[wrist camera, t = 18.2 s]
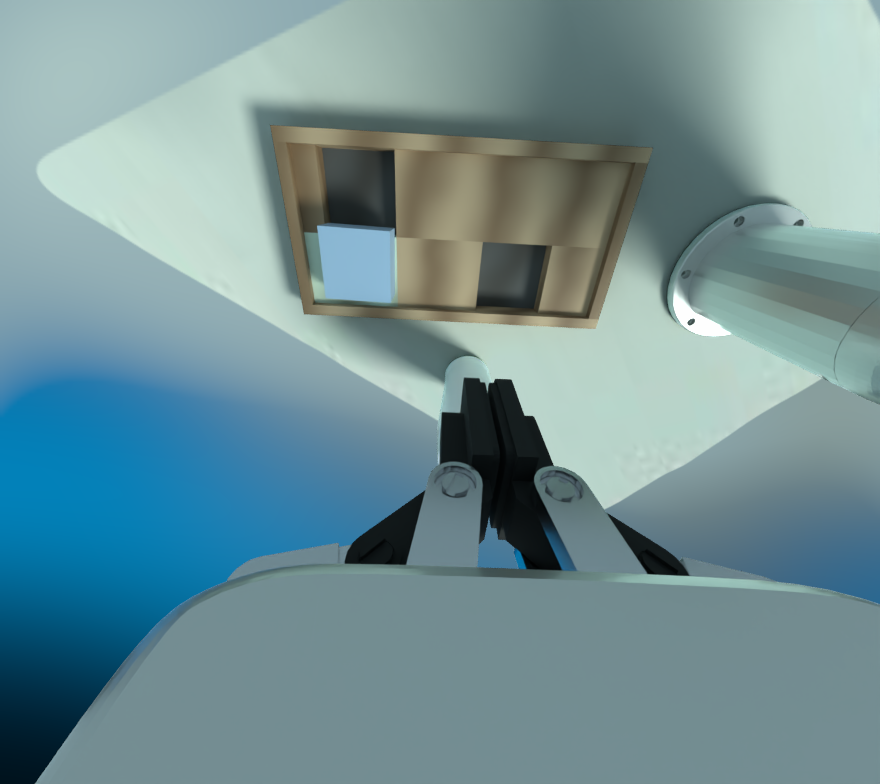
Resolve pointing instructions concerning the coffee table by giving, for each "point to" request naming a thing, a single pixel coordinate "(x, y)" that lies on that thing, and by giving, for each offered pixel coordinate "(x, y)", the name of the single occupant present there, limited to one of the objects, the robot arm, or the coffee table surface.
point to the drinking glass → (459, 385)
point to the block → (358, 262)
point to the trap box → (465, 221)
